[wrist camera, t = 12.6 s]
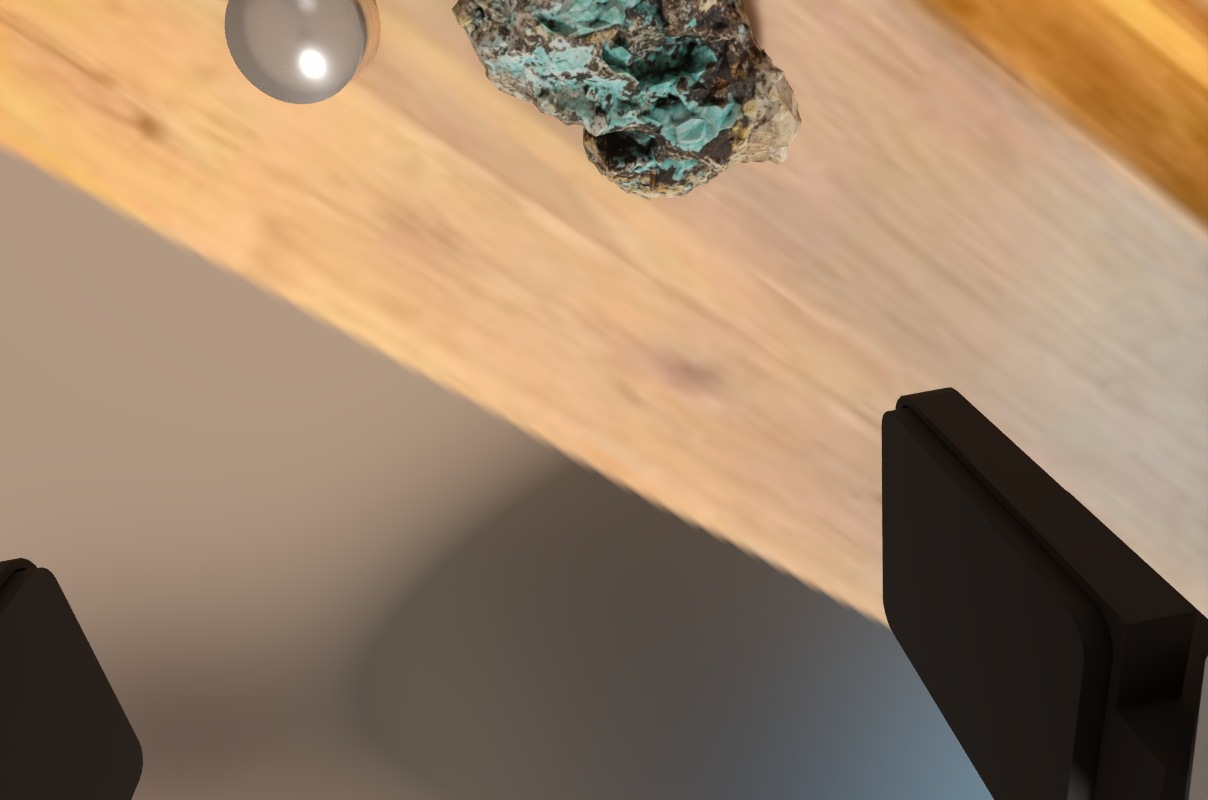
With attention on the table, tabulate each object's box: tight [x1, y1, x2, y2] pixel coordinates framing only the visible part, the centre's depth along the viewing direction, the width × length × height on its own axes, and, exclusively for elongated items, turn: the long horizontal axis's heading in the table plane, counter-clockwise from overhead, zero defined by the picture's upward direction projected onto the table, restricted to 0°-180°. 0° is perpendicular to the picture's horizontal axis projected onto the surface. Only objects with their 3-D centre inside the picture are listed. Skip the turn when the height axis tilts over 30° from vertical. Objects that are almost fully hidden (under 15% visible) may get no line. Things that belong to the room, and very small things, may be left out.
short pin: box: [225, 0, 381, 104], centre depth 31 cm, size 4×4×6 cm
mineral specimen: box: [452, 0, 802, 200], centre depth 32 cm, size 12×9×8 cm
